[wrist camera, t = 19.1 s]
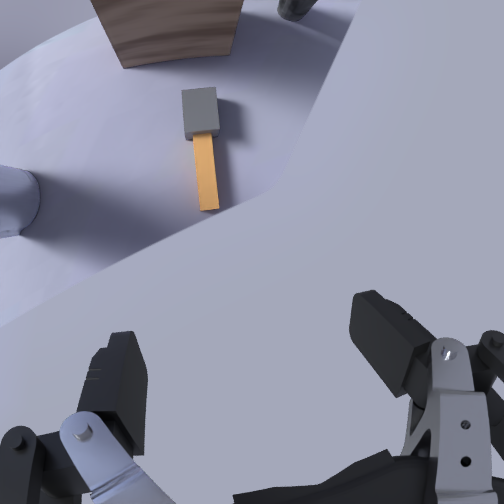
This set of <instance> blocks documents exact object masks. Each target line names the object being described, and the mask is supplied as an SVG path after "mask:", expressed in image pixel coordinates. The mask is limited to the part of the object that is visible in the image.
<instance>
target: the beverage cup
mask: <svg viewBox="0 0 504 504" xmlns="http://www.w3.org/2000/svg"><path fill="white" fill-rule="evenodd" d="M316 2H317V0H279V5H278V9H277V11H278V13H279V15H280V16H281V17H283V18H284V19H286V20H289V21H298V20H300V19H301V18H302V17H303V16H304V15H305V14H306V13H307V12H308V11H309V10H310V9H311V7H312V6H313V5H314V4H315V3H316Z"/></svg>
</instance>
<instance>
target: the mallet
mask: <svg viewBox="0 0 504 504" xmlns="http://www.w3.org/2000/svg"><path fill="white" fill-rule="evenodd" d="M182 104H183V118H184V131H185V138H186V140H190V139H193V144H194V154H195V165H196V174H197V184H198V193H199V202H200V210H201V211H204V210H212V209H219V200H218V192H217V183H216V174H215V164H214V155H213V145H212V137H218V134H219V130H220V125H219V115H218V105H217V95H216V87H209V88H198V89H189V90H182Z"/></svg>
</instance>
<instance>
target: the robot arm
mask: <svg viewBox="0 0 504 504" xmlns="http://www.w3.org/2000/svg"><path fill="white" fill-rule="evenodd" d="M39 203H40V190H39V185H38V183H37V180H36V179H35V177H34V176H33V175H32V174H31V173H30V172H28V171H26V170H22V169H18V168H12V167H8V166H3V165H0V238H6V237H12V236H18V235H19V234H20V232H21V230H22V229H24V228H25V227H27V226H28V225H29V224H30V223H31V222H32V221H33V219H34V218H35V216H36V214H37V212H38V208H39ZM349 332H350V337H351V339H352V341H353V343H354V344H355V345H356V347H357V348H358V349H359V351H360V352H361V353H362V354H363V356H364V357H365V358H366V360H367V361H368V362H369V363H370V365H371V366H372V367H373V369H374V370H375V371H376V373H377V374H378V375H379V376H380V378H381V379H382V380H383V382H384V383H385V384H386V386H387V387H388V388H389V389H390V391H391V392H392V393H393V395H394V396H395V397H396V398H398V397H400V396H402V395H404V394H407V393H408V394H409V396H410V397H411V400H410V402H409V412H408V421H407V430H406V437H405V443H404V447H403V450H402V452H401V454H400V456H393V457H392V456H391V454H390V453H389V451H388V450H387V449H386V450H383V451H381V452H379V453H377V454H375V455H372V456H370V457H367V458H365V459H362V460H360V461H357V462H355V463H353V464H351V465H350V466H349V467H347V468H345V469H344V470H342V471H341V472H339V473H338V474H336V475H334V476H333V477H331V478H330V479H328V480H326V481H324V482H323V483H321V484H318V485H308V486H292V487H272V488H268V489H263V490H258V491H253V492H247V493H241V494H235V495H233V499H234V504H504V479H502V478H497V477H493V476H492V463H491V444H492V445H493V447H494V448H495V449H496V451H497V452H498V453H499V455H500V456H501V458H502V459H503V460H504V400H503V399H501V397H500V396H499V395H498V394H497V393H496V391H495V390H494V389H493V388H492V385H493V383H494V381H495V380H496V378H497V376H498V377H499V378H500V379H501V380H502V381H503V382H504V334H503V333H501V332H498V331H494V330H493V331H492V330H490V331H486V332H484V333H483V335H482V337H481V339H480V342H479V344H478V345H472V346H465V345H463V344H462V343H461V342H460V341H458V340H456V339H453V338H439V339H436V338H435V337H434V336H433V335H432V334H431V333H430V332H429V331H428V330H426V329H425V328H424V327H423V326H422V325H421V324H420V323H419V322H418V321H416V320H415V319H413V317H412V316H411V315H410V314H409V313H407V312H406V311H405V310H404V309H403V308H402V307H401V306H400V305H398V304H396V303H394V302H392V301H390V300H387V299H384V298H383V297H382V296H381V295H380V294H379V293H378V292H376V291H375V290H370V291H365V292H361V293H356V294H355V295H354V297H353V302H352V310H351V318H350V326H349ZM147 385H148V376H147V369H146V365H145V362H144V359H143V356H142V354H141V351H140V348H139V345H138V342H137V339H136V336H135V334H134V332H133V331H126V332H116V333H112V334H111V336H110V339H109V343H108V346H107V348H100V349H99V350H98V352H97V353H96V354H95V355H94V356H93V357H92V360H91V363H90V366H89V371H88V372H87V376H86V380H85V382H84V386H83V390H82V393H81V397H80V400H79V404H78V408H77V412H76V413H74V414H72V415H71V416H69V417H68V418H66V419H65V421H64V422H63V423H62V425H61V428H60V431H57V432H53V433H49V434H45V435H40V436H36V434H35V433H34V432H33V431H32V430H31V429H30V428H28V427H25V426H16V427H14V428H12V429H10V430H9V431H8V432H7V433H6V434H5V435H4V437H3V439H2V441H1V445H0V504H81V502H82V499H81V498H82V494H83V493H89V492H92V494H90V496H91V499H92V501H93V502H94V504H176V503H175V502H174V501H173V500H172V499H170V497H169V496H167V494H165V492H163V491H162V490H161V489H160V487H159V486H157V485H156V483H154V481H153V480H152V479H151V478H150V477H149V476H148V475H147V474H146V473H145V472H144V471H143V470H142V469H141V468H140V466H138V465H137V464H136V463H135V462H134V460H133V456H134V455H135V456H136V455H137V456H138V455H144V438H145V414H146V398H147Z"/></svg>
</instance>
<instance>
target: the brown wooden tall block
mask: <svg viewBox="0 0 504 504" xmlns="http://www.w3.org/2000/svg"><path fill="white" fill-rule="evenodd" d="M243 1H244V0H91V3H92V5H93V7H94V9H95V11H96V13H97V15H98V17H99V20H100V22H101V24H102V26H103V28H104V30H105V32H106V34H107V36H108V38H109V40H110V42H111V45H112V47H113V49H114V51H115V53H116V55H117V57H118V59H119V61H120V63H121V65H122V67H123V68H128V67H133V66H139V65H144V64H150V63H156V62H163V61H170V60H177V59H186V58H196V57H208V56H223V55H230V52H231V48H232V43H233V39H234V35H235V31H236V28H237V24H238V20H239V16H240V12H241V9H242V5H243Z"/></svg>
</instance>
